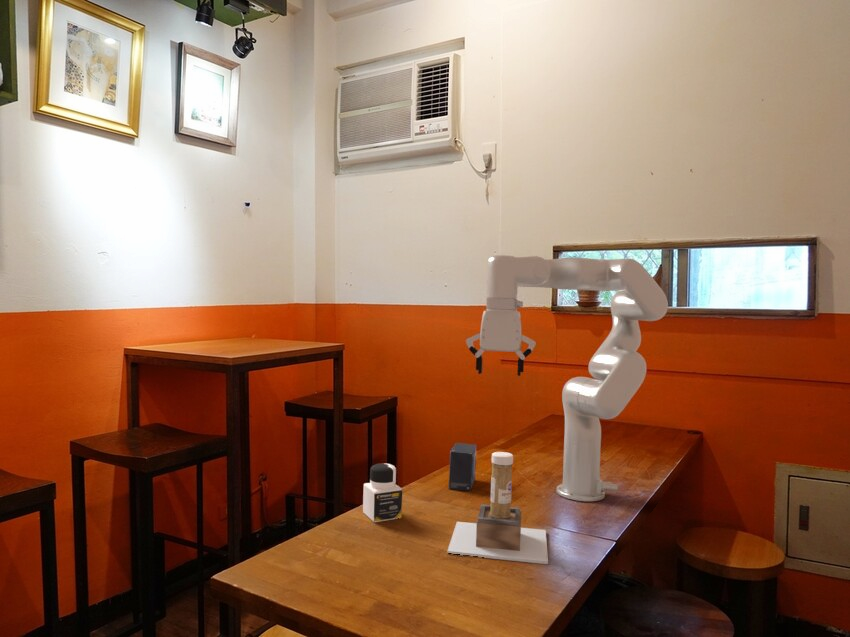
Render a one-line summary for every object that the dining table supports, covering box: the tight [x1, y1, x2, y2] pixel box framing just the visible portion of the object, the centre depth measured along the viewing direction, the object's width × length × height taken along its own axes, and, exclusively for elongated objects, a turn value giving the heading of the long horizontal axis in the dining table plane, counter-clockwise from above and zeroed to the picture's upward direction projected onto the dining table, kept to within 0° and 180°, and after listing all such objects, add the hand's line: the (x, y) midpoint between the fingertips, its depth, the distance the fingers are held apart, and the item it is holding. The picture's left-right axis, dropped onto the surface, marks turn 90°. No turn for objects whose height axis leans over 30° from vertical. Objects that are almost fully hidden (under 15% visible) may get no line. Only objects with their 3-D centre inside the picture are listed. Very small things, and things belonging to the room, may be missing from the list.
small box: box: [447, 442, 477, 492], centre depth 162 cm, size 11×6×10 cm, turn 168°
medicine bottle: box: [362, 462, 403, 523], centre depth 138 cm, size 7×7×12 cm
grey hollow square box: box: [476, 503, 522, 551], centre depth 124 cm, size 9×9×6 cm
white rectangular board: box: [446, 521, 549, 565], centre depth 124 cm, size 20×16×1 cm
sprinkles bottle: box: [490, 451, 514, 519], centre depth 124 cm, size 5×5×14 cm
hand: (499, 374), depth 145 cm, fingers open, 9 cm apart
